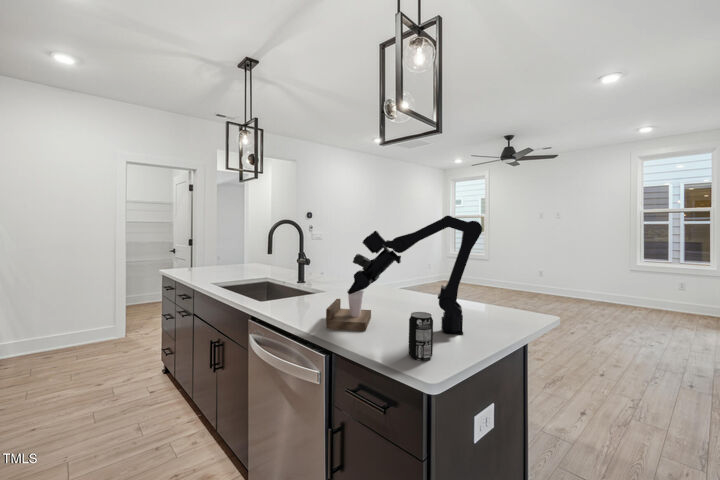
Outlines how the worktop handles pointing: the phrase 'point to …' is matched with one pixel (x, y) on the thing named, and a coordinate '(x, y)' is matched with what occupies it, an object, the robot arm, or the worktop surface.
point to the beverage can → (420, 336)
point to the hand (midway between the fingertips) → (352, 291)
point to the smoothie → (355, 303)
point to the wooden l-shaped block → (346, 318)
